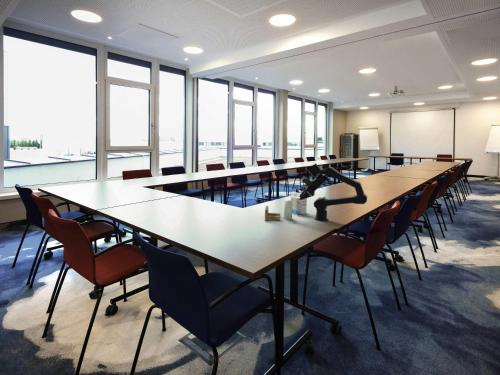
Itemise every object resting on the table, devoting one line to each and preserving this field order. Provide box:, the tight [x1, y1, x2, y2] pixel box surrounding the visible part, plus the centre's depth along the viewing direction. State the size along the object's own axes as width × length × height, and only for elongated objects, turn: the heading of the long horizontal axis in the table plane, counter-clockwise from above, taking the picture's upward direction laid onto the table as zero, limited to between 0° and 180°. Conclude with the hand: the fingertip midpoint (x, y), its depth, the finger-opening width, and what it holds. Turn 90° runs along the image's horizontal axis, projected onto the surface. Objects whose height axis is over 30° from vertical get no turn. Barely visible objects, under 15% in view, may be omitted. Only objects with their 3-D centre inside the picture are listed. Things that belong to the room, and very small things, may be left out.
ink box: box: [290, 193, 308, 215], centre depth 216 cm, size 9×8×13 cm
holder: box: [264, 205, 281, 222], centre depth 200 cm, size 10×13×7 cm
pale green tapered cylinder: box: [283, 199, 293, 221], centre depth 199 cm, size 5×5×12 cm
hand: (299, 198), depth 198 cm, fingers open, 9 cm apart
